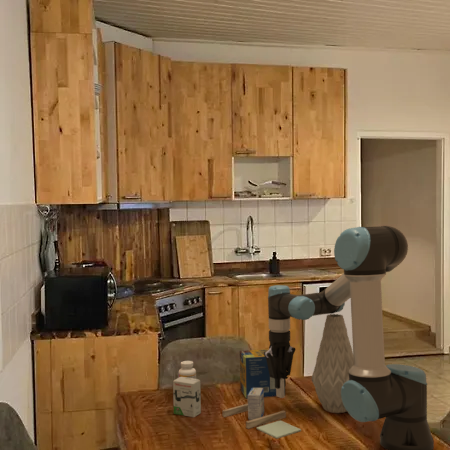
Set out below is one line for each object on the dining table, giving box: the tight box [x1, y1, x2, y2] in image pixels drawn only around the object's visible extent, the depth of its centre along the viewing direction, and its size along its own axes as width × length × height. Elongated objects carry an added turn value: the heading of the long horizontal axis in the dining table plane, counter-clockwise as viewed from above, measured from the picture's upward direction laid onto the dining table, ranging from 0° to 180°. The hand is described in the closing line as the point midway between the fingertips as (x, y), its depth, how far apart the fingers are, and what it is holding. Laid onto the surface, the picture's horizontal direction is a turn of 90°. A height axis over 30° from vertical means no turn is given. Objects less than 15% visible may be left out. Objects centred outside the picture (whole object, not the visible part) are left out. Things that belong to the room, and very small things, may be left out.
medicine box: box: [247, 388, 265, 421], centre depth 198 cm, size 8×4×9 cm, turn 168°
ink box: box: [172, 376, 202, 418], centre depth 202 cm, size 9×5×12 cm, turn 62°
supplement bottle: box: [178, 360, 197, 379], centre depth 220 cm, size 7×7×13 cm
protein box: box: [239, 348, 286, 400], centre depth 222 cm, size 10×15×16 cm
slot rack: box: [221, 403, 287, 430], centre depth 197 cm, size 14×16×2 cm
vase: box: [311, 313, 354, 414], centre depth 202 cm, size 17×17×33 cm
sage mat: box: [256, 419, 302, 440], centre depth 185 cm, size 10×10×1 cm
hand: (280, 396), depth 204 cm, fingers closed
